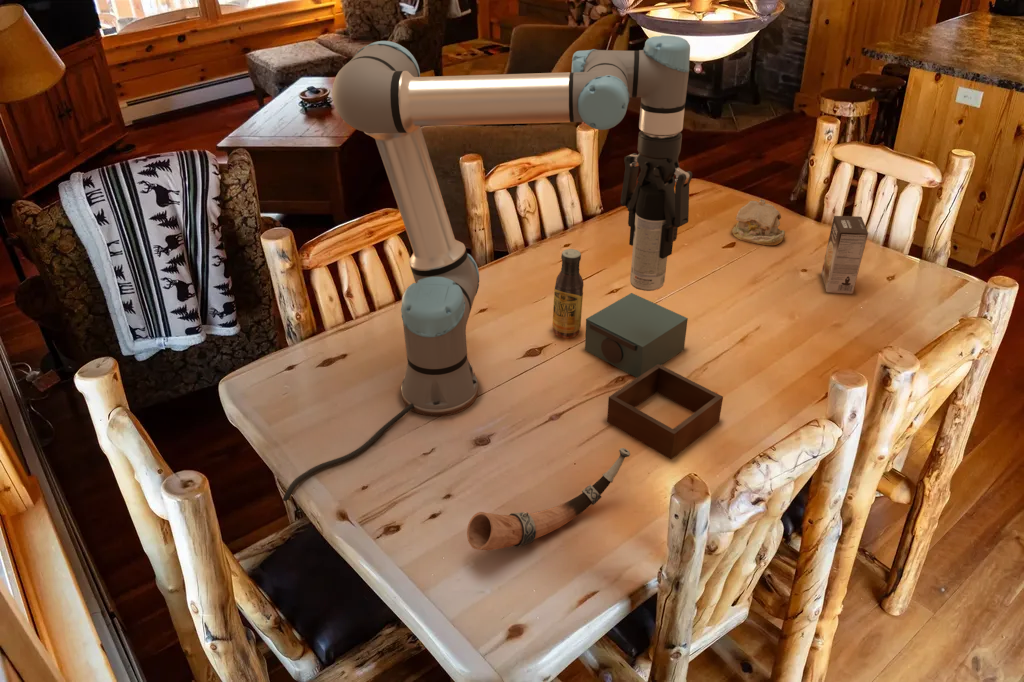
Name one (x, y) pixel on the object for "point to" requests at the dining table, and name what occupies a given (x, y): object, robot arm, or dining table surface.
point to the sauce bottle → (568, 296)
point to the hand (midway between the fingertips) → (650, 249)
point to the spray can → (648, 240)
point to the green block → (635, 334)
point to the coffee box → (844, 254)
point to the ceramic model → (758, 224)
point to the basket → (655, 431)
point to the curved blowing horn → (535, 517)
